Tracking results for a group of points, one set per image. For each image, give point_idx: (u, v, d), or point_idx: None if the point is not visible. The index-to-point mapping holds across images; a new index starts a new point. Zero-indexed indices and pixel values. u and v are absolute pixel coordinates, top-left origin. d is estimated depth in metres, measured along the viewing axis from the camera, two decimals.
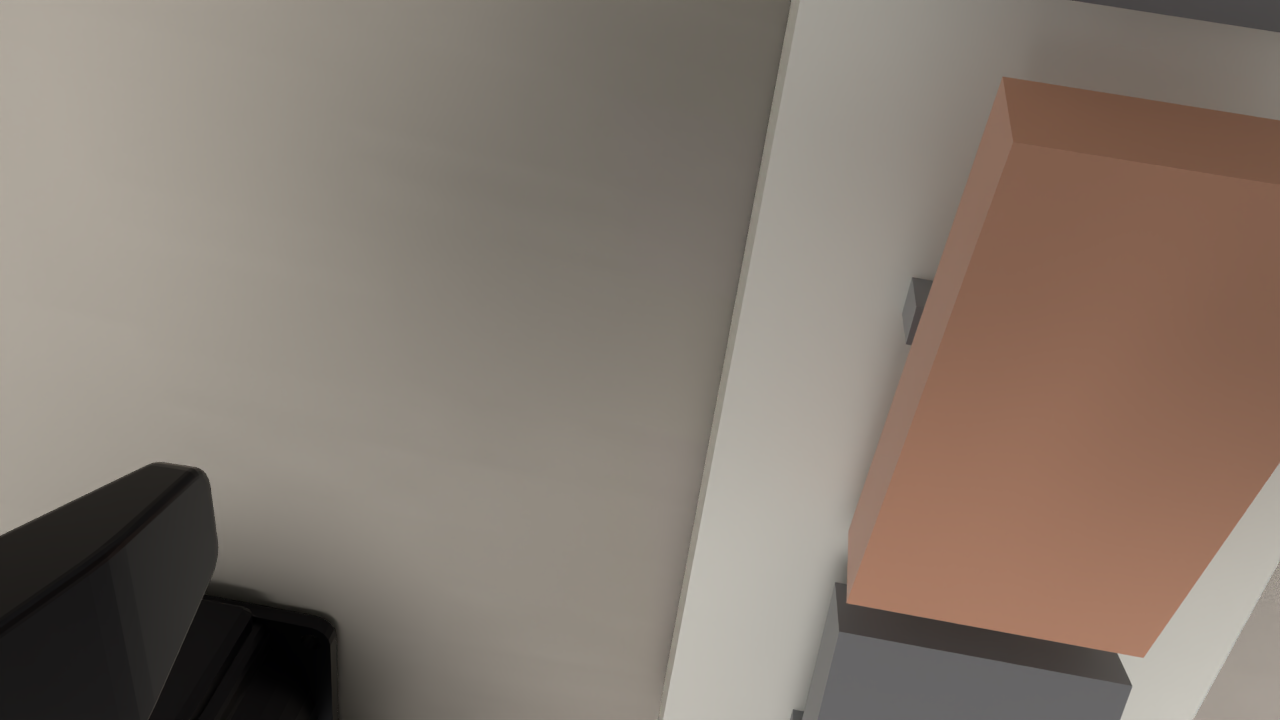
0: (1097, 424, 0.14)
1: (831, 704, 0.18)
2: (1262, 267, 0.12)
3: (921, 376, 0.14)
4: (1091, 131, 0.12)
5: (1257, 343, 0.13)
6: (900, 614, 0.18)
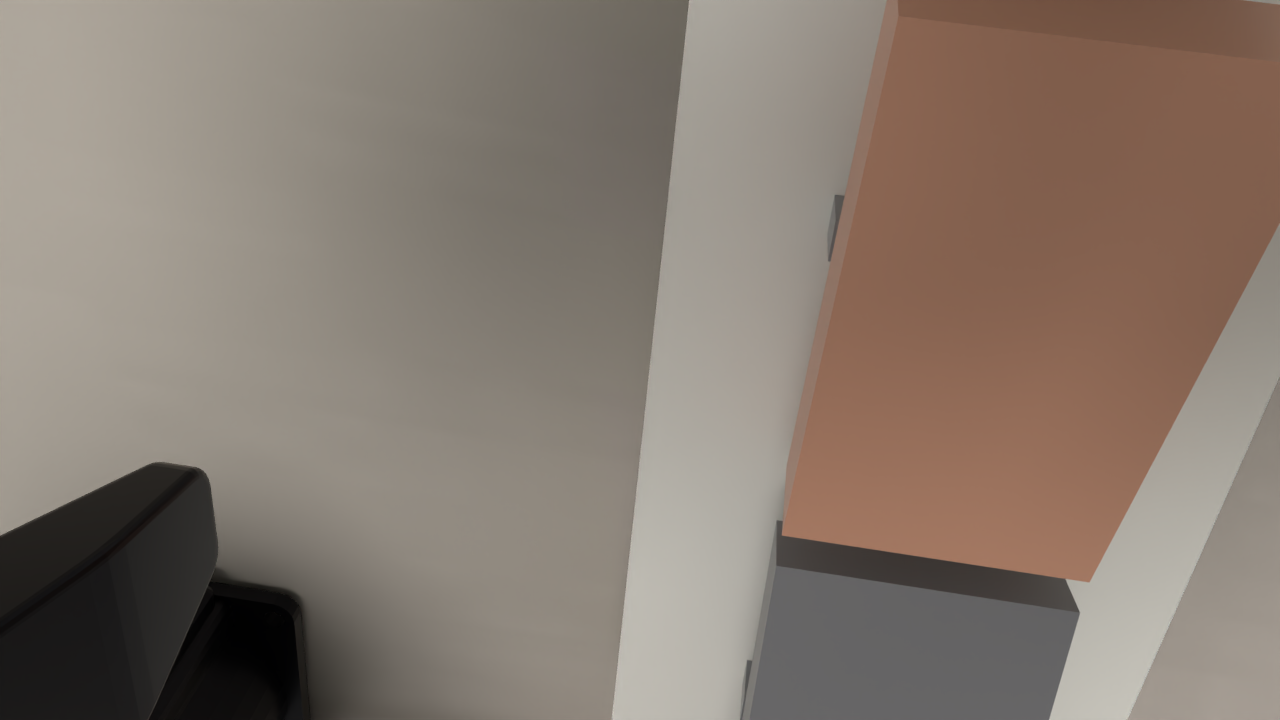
0: (1016, 326, 0.14)
1: (773, 643, 0.17)
2: (1168, 143, 0.12)
3: (835, 284, 0.14)
4: (983, 5, 0.12)
5: (1171, 229, 0.12)
6: (842, 549, 0.17)
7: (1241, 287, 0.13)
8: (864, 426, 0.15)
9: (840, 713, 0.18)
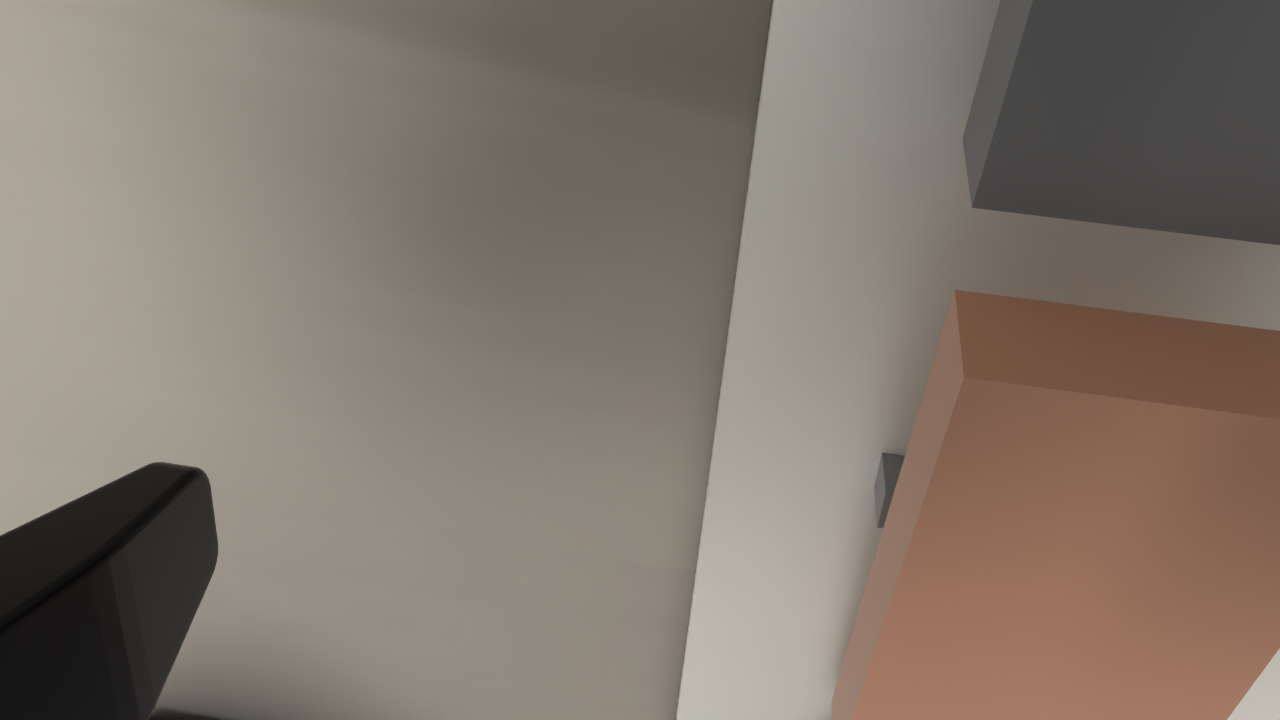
0: (1075, 628, 0.13)
1: None
2: (1235, 488, 0.12)
3: (890, 579, 0.14)
4: (1047, 356, 0.11)
5: (1236, 557, 0.12)
6: None
7: None
8: (917, 702, 0.15)
9: None
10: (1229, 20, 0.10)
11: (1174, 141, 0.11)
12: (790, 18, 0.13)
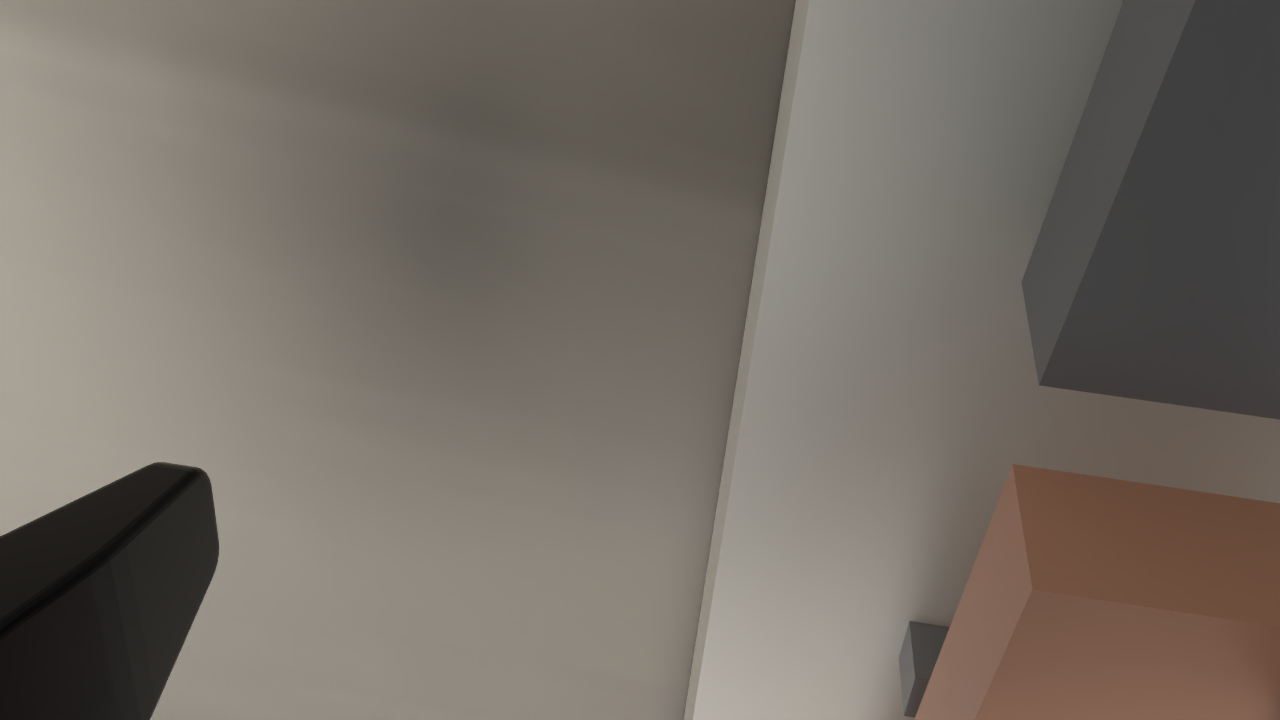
0: None
1: None
2: None
3: None
4: (1135, 560, 0.09)
5: None
6: None
7: None
8: None
9: None
10: None
11: None
12: (811, 130, 0.11)
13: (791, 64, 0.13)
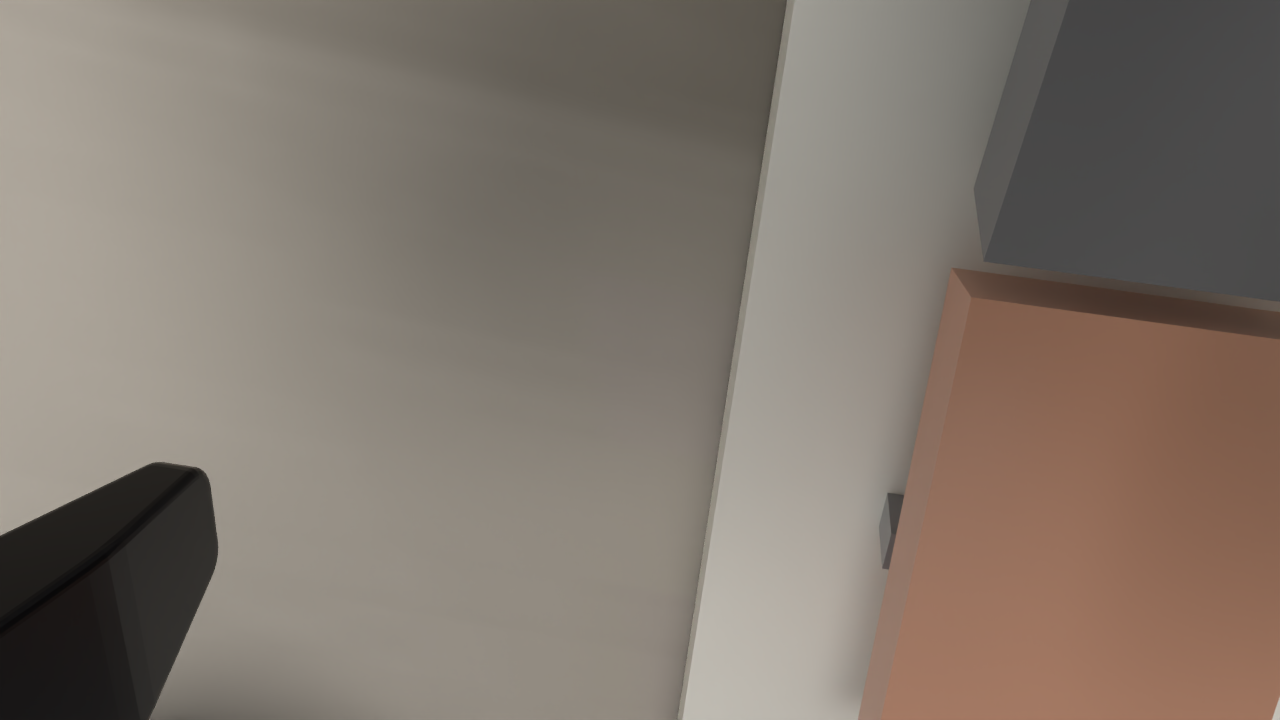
0: (1094, 623, 0.13)
1: None
2: (1229, 424, 0.12)
3: (904, 581, 0.14)
4: (1043, 297, 0.13)
5: (1239, 514, 0.13)
6: None
7: None
8: None
9: None
10: (1244, 85, 0.10)
11: (1187, 200, 0.11)
12: (803, 66, 0.13)
13: (787, 20, 0.15)
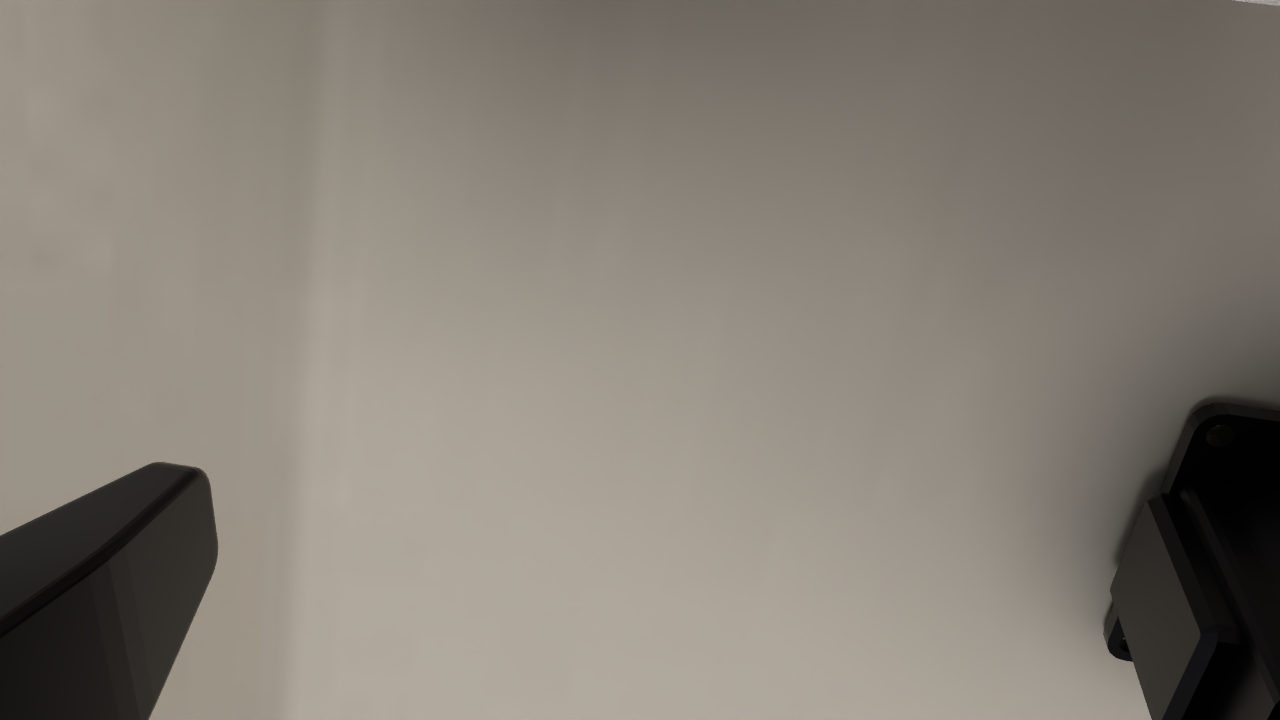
0: None
1: None
2: None
3: None
4: None
5: None
6: None
7: None
8: None
9: None
10: None
11: None
12: None
13: None
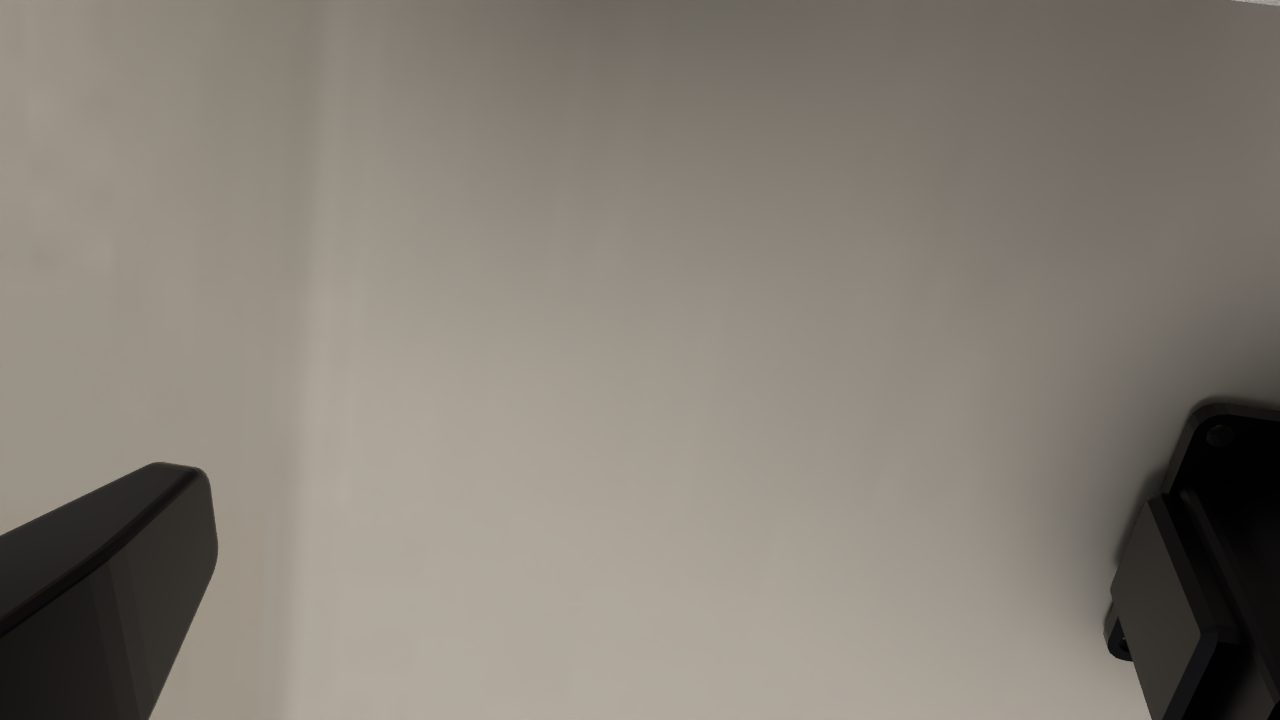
0: None
1: None
2: None
3: None
4: None
5: None
6: None
7: None
8: None
9: None
10: None
11: None
12: None
13: None
